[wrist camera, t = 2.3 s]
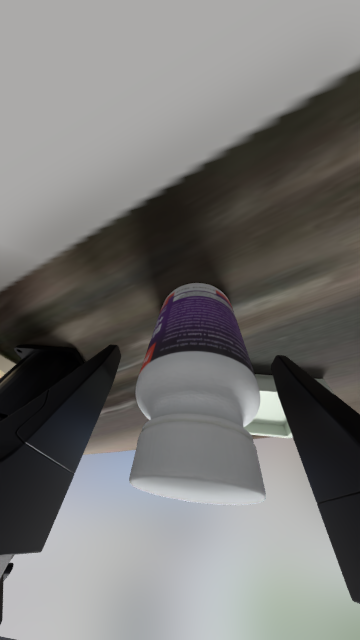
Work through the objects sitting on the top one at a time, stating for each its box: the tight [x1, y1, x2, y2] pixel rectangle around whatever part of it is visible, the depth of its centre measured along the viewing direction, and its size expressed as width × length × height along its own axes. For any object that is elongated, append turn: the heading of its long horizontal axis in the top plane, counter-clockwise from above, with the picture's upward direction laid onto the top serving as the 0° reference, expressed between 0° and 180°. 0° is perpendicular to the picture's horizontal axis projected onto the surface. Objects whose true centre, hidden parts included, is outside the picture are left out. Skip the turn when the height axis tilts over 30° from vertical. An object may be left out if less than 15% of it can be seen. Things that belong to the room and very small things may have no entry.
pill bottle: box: [129, 283, 266, 505], centre depth 9 cm, size 5×5×10 cm
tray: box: [244, 374, 335, 438], centre depth 18 cm, size 10×10×2 cm
